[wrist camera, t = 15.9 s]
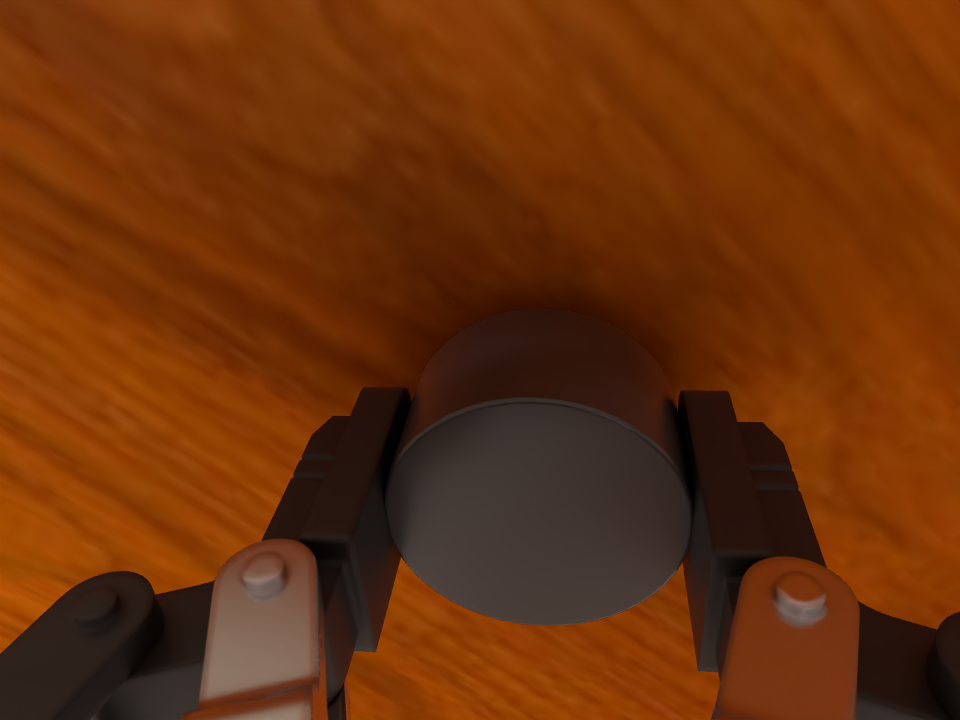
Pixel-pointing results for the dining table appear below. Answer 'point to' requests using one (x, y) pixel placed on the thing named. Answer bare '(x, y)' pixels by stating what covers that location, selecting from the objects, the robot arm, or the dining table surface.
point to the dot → (541, 471)
